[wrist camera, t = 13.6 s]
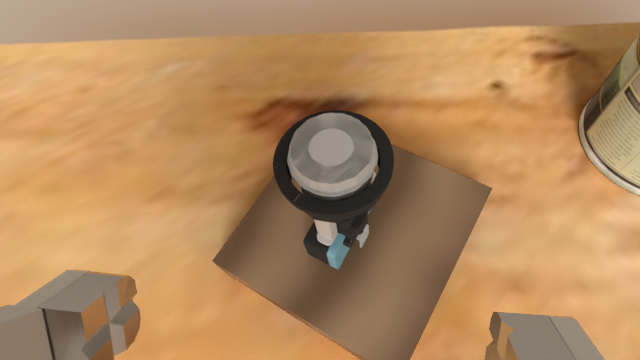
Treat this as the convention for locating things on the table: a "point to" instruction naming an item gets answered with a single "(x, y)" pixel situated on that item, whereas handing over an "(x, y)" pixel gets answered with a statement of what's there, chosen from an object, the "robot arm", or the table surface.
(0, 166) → the table surface
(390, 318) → the plinth
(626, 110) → the coffee can
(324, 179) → the push button
